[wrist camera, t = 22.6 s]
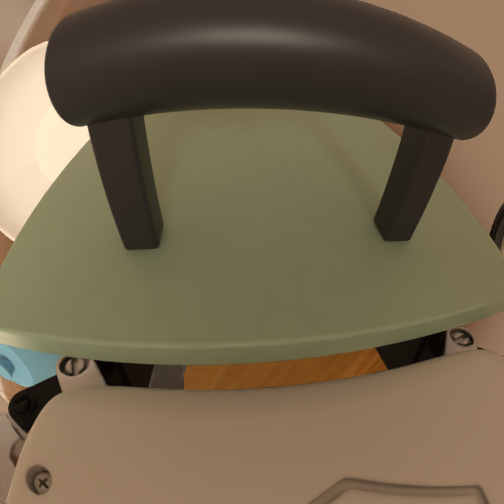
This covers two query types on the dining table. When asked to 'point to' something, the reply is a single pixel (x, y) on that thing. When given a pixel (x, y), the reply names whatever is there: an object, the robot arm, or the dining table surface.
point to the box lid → (252, 186)
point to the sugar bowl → (26, 365)
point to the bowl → (30, 140)
